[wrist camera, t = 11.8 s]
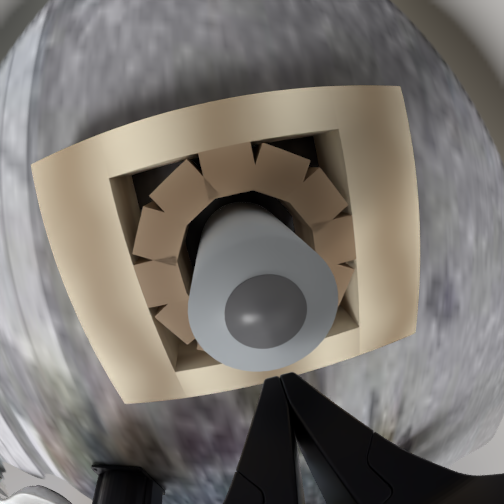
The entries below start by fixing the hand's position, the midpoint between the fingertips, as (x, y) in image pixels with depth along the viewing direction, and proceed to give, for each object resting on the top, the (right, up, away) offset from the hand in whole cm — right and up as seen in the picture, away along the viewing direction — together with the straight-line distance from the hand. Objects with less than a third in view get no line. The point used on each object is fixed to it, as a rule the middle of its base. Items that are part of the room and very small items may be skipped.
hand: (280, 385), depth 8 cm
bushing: (-1, +4, +8) cm, 9 cm away
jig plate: (-1, +4, +8) cm, 9 cm away
